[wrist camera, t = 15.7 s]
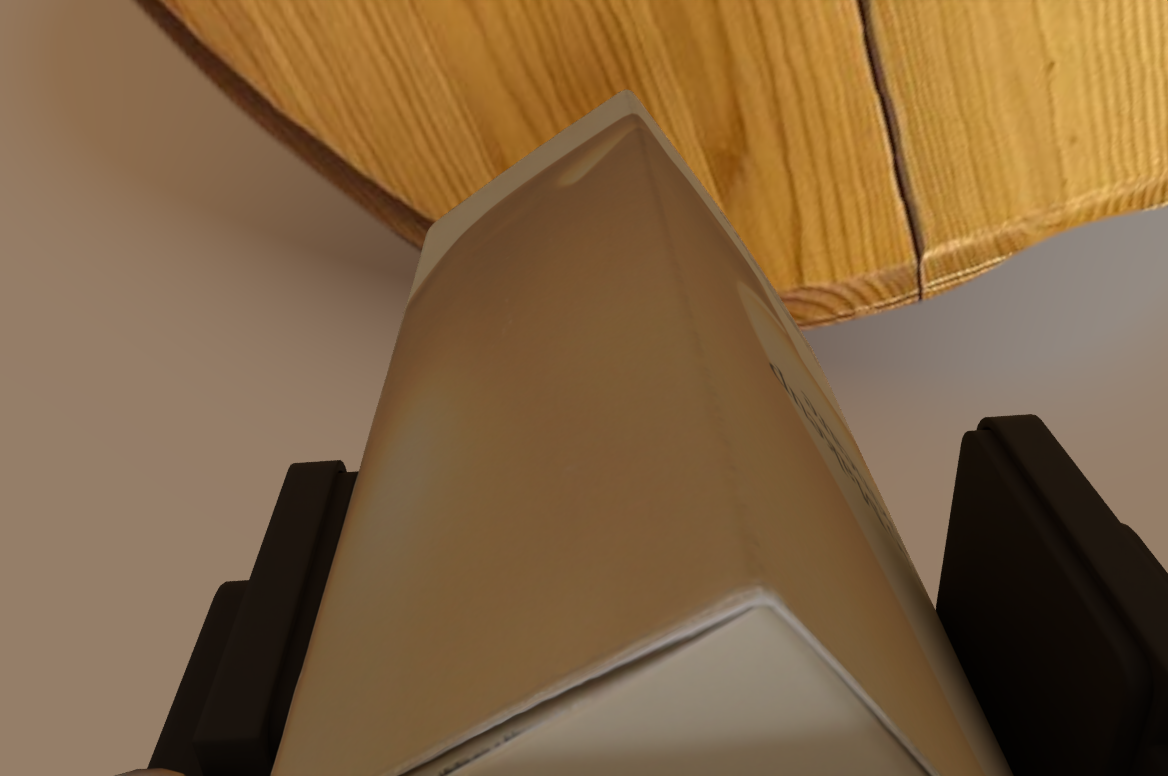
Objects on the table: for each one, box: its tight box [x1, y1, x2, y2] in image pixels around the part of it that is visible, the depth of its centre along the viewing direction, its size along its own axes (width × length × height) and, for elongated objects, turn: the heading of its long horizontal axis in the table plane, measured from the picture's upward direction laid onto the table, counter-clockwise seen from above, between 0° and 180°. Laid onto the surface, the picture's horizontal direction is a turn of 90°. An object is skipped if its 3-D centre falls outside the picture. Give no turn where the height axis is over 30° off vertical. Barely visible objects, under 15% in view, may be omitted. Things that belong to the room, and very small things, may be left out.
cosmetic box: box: [271, 90, 1014, 776], centre depth 13 cm, size 6×4×12 cm
